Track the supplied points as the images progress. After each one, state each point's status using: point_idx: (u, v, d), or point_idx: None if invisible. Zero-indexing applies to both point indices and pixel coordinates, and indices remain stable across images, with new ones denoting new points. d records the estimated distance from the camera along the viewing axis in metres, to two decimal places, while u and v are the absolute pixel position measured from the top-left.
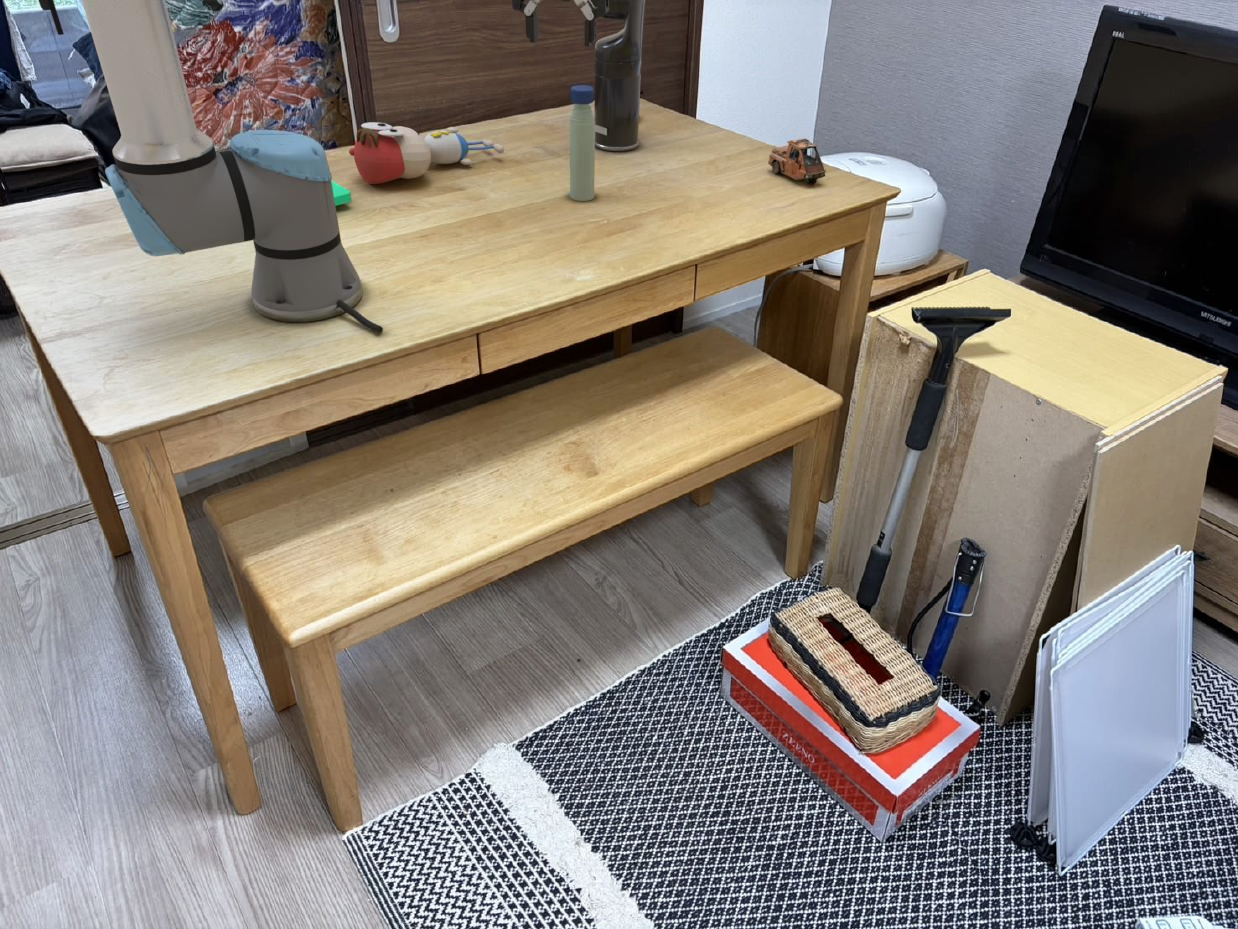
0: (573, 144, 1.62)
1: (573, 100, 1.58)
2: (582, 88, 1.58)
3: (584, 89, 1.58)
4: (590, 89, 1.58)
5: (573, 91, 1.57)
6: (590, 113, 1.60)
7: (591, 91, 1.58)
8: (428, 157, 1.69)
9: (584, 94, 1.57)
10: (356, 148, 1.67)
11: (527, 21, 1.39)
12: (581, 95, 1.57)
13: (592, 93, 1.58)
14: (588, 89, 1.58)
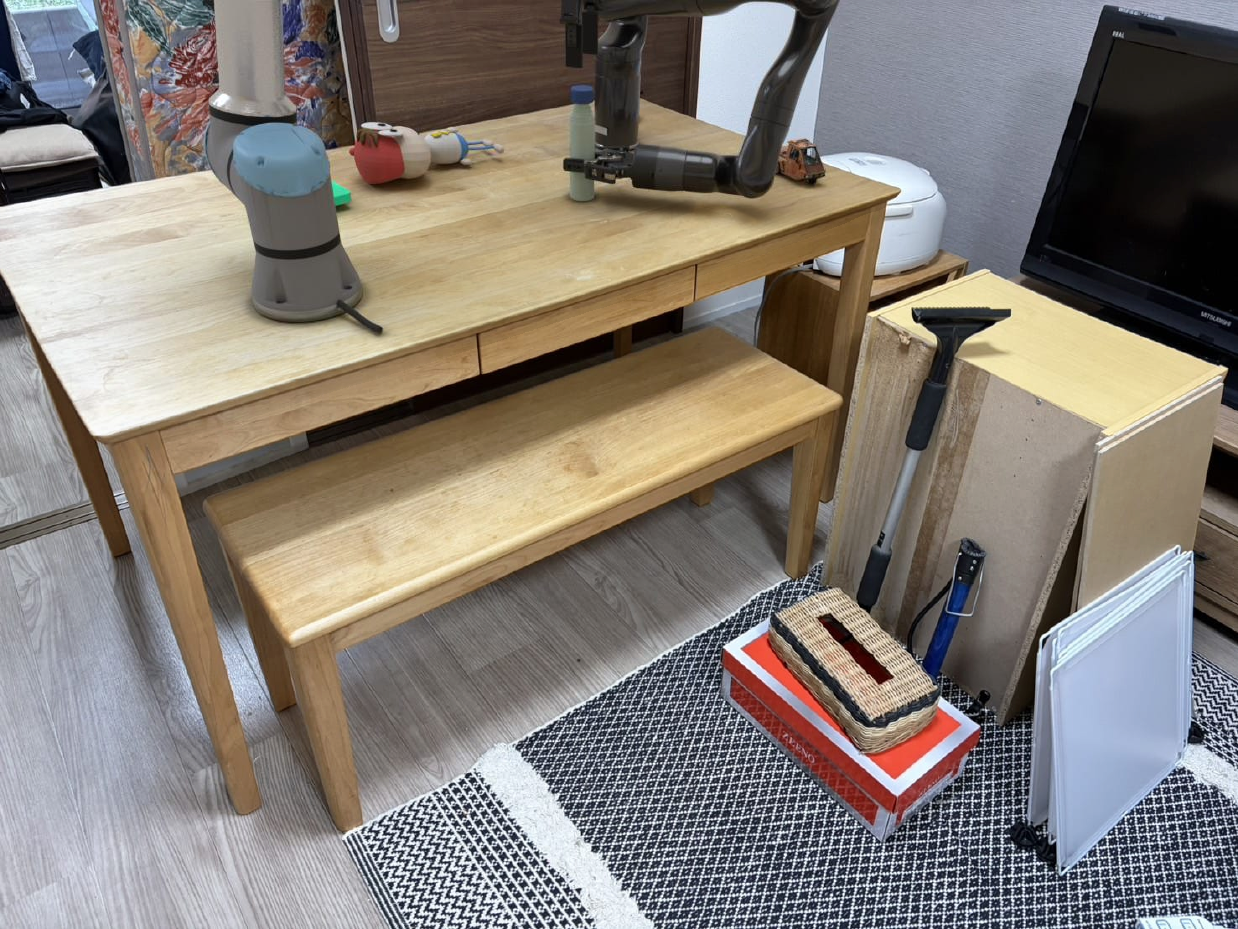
0: (573, 144, 1.62)
1: (573, 100, 1.58)
2: (582, 88, 1.58)
3: (584, 89, 1.58)
4: (590, 89, 1.58)
5: (573, 91, 1.57)
6: (590, 113, 1.60)
7: (591, 91, 1.58)
8: (428, 157, 1.69)
9: (584, 94, 1.57)
10: (356, 148, 1.67)
11: None
12: (581, 95, 1.57)
13: (592, 93, 1.58)
14: (588, 89, 1.58)
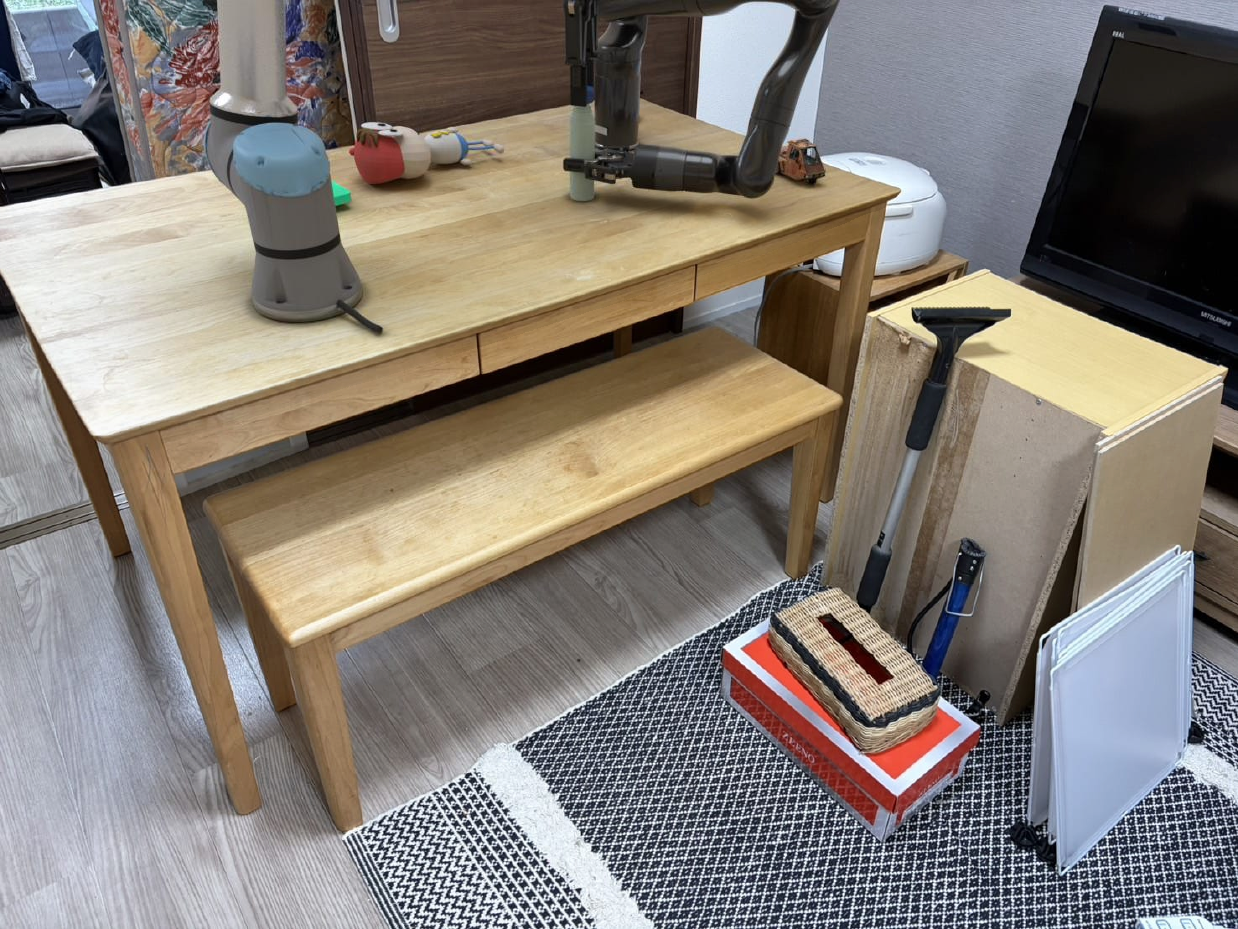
0: (573, 144, 1.62)
1: None
2: None
3: None
4: (590, 89, 1.58)
5: None
6: (590, 113, 1.60)
7: (591, 91, 1.58)
8: (428, 157, 1.69)
9: None
10: (356, 148, 1.67)
11: None
12: None
13: (592, 93, 1.58)
14: (588, 89, 1.58)
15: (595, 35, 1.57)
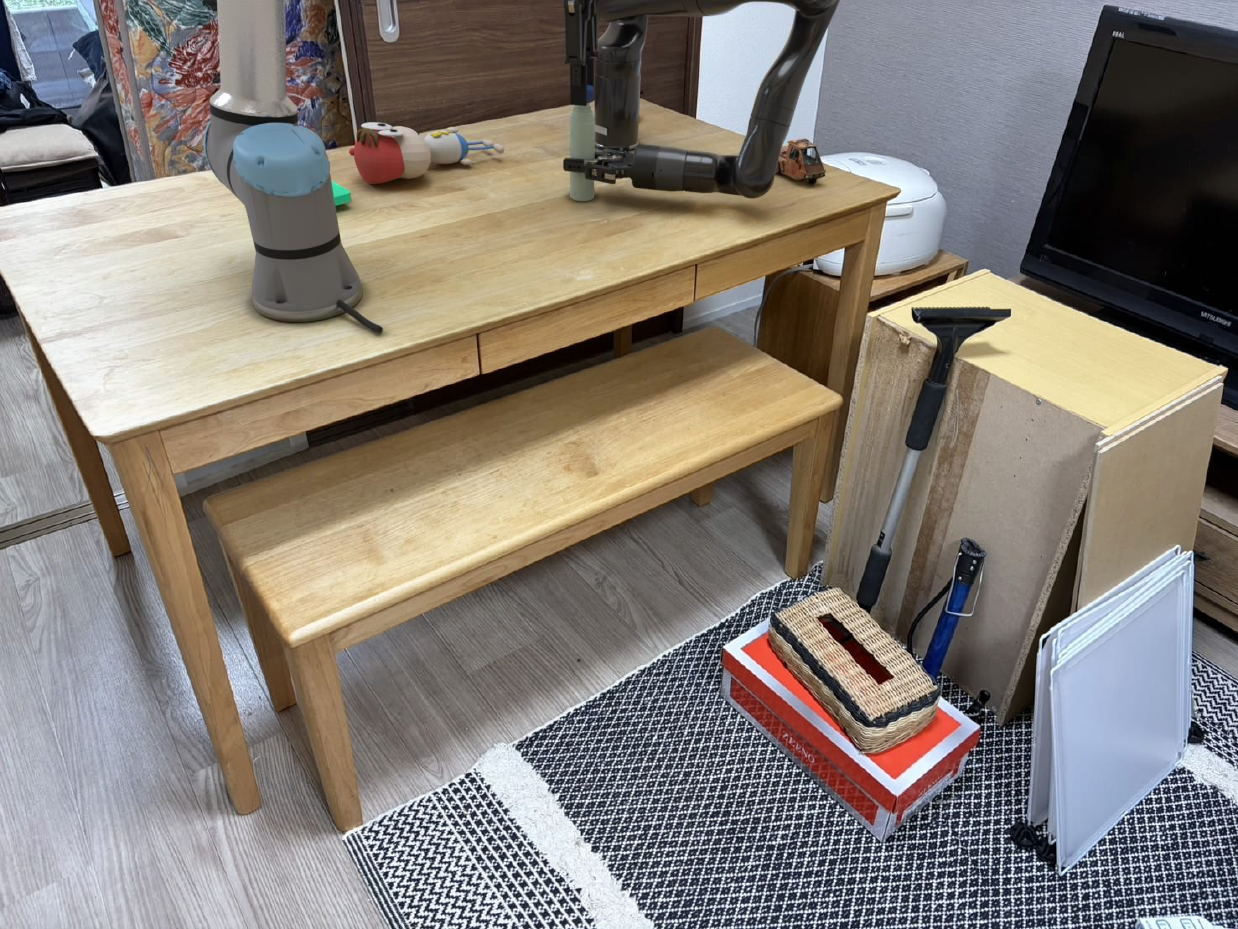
0: (573, 144, 1.62)
1: (592, 99, 1.59)
2: None
3: None
4: None
5: (592, 90, 1.58)
6: (590, 113, 1.60)
7: None
8: (428, 157, 1.69)
9: None
10: (356, 148, 1.67)
11: None
12: None
13: None
14: None
15: (595, 34, 1.57)
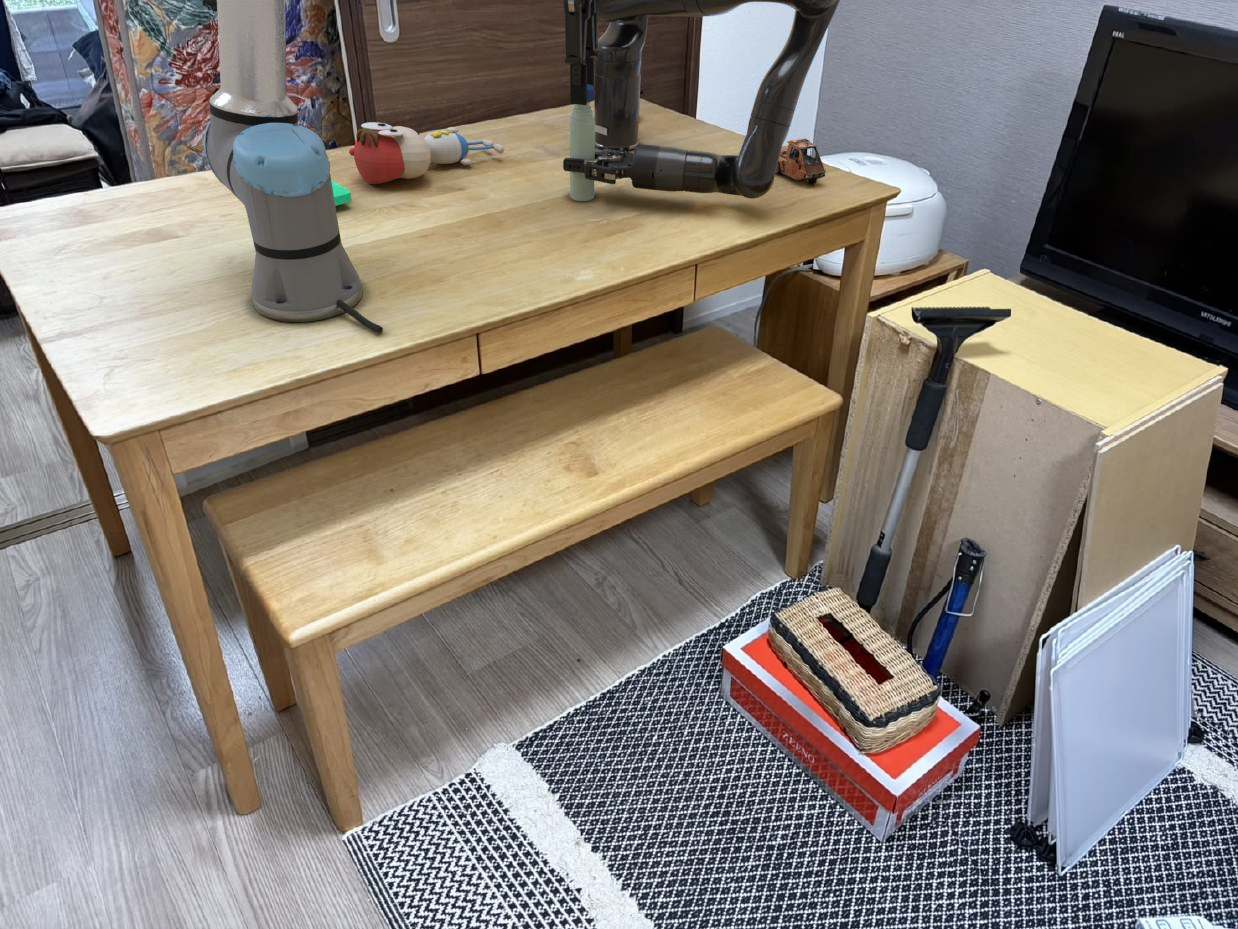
0: (573, 144, 1.62)
1: None
2: None
3: None
4: None
5: None
6: (590, 113, 1.60)
7: None
8: (428, 157, 1.69)
9: None
10: (356, 148, 1.67)
11: None
12: None
13: None
14: None
15: (595, 33, 1.57)
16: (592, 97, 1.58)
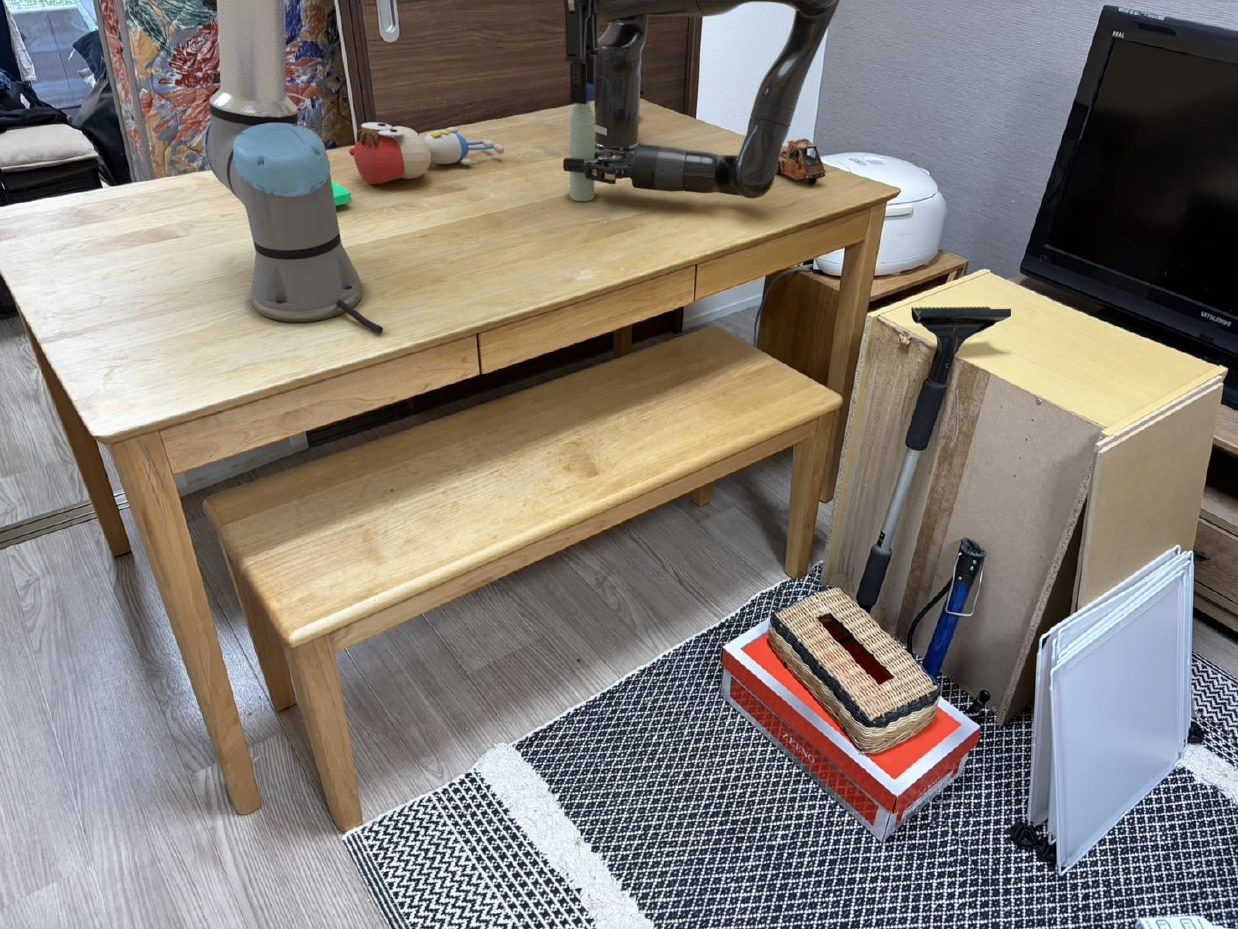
0: (573, 144, 1.62)
1: None
2: None
3: None
4: (590, 86, 1.57)
5: None
6: (590, 113, 1.60)
7: (591, 88, 1.57)
8: (428, 157, 1.69)
9: None
10: (356, 148, 1.67)
11: None
12: None
13: (592, 90, 1.58)
14: (588, 86, 1.57)
15: (595, 32, 1.57)
16: None
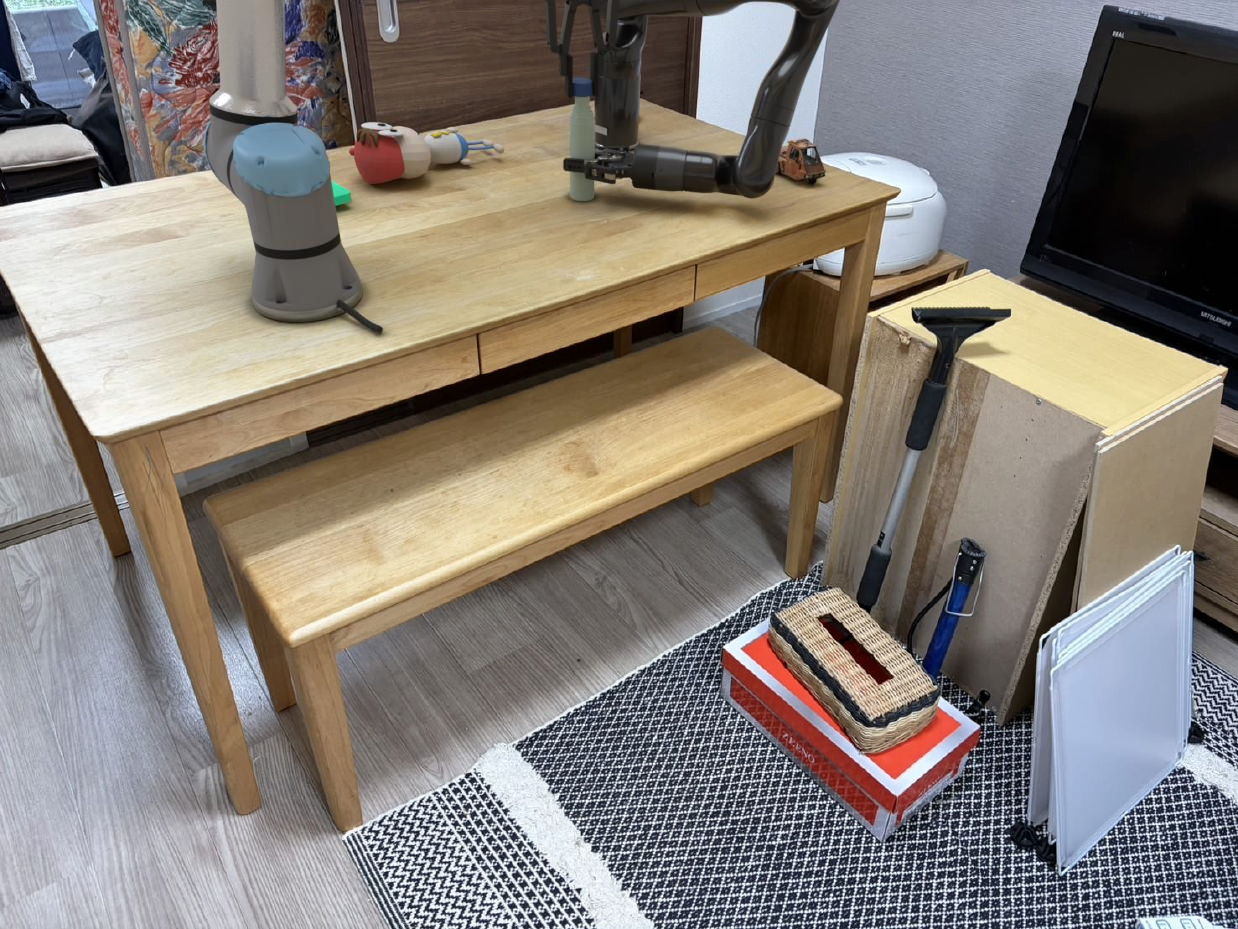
0: (573, 144, 1.62)
1: (591, 92, 1.58)
2: (582, 80, 1.58)
3: (584, 79, 1.58)
4: (581, 78, 1.59)
5: (591, 83, 1.57)
6: (590, 113, 1.60)
7: None
8: (428, 157, 1.69)
9: None
10: (356, 148, 1.67)
11: None
12: None
13: None
14: (582, 78, 1.58)
15: None
16: None
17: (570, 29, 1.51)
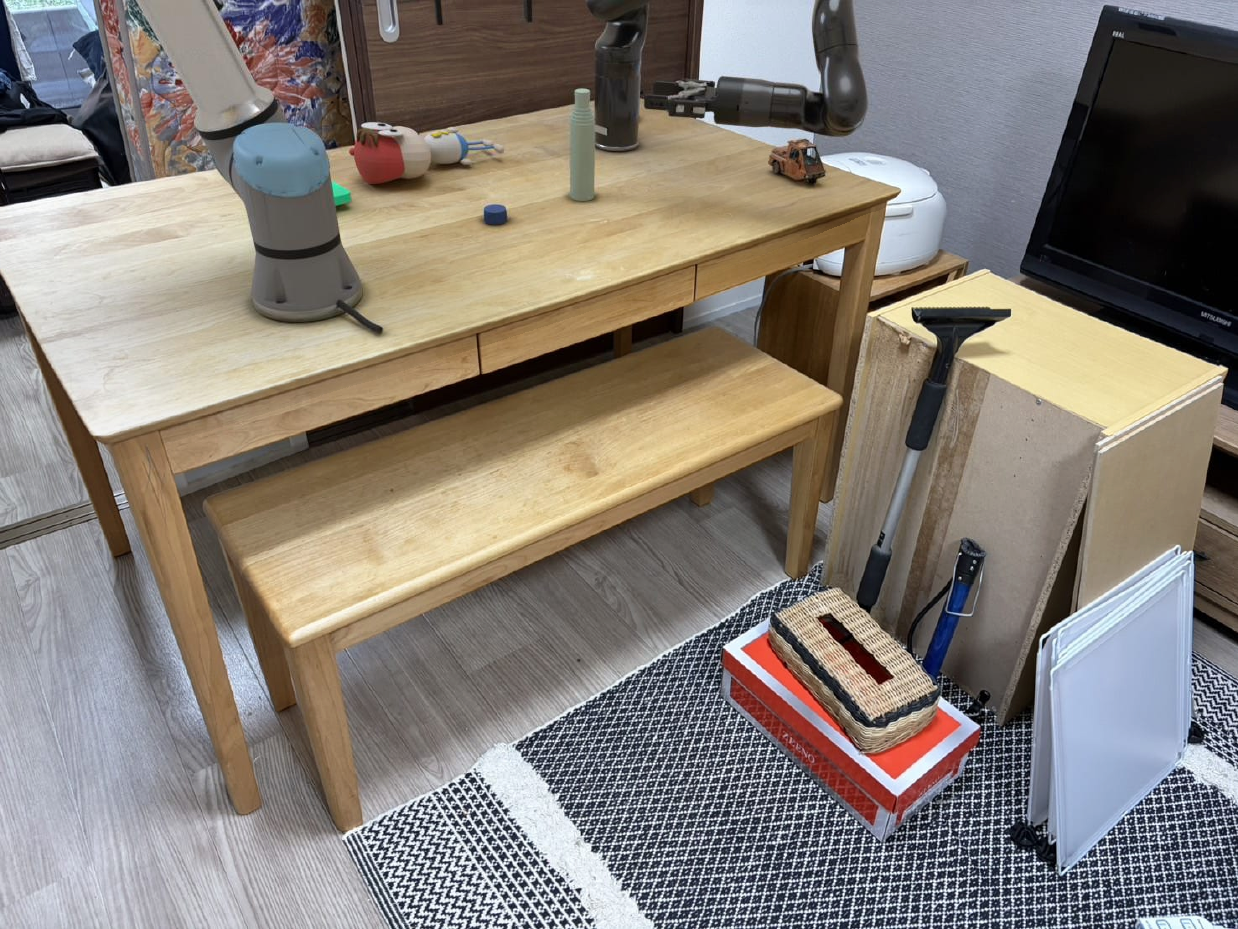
0: (573, 144, 1.62)
1: (505, 220, 1.59)
2: (496, 208, 1.59)
3: (498, 206, 1.59)
4: (495, 205, 1.60)
5: (504, 211, 1.58)
6: (590, 113, 1.60)
7: None
8: (428, 157, 1.69)
9: None
10: (356, 148, 1.67)
11: None
12: None
13: None
14: (496, 205, 1.59)
15: None
16: (486, 219, 1.58)
17: None
